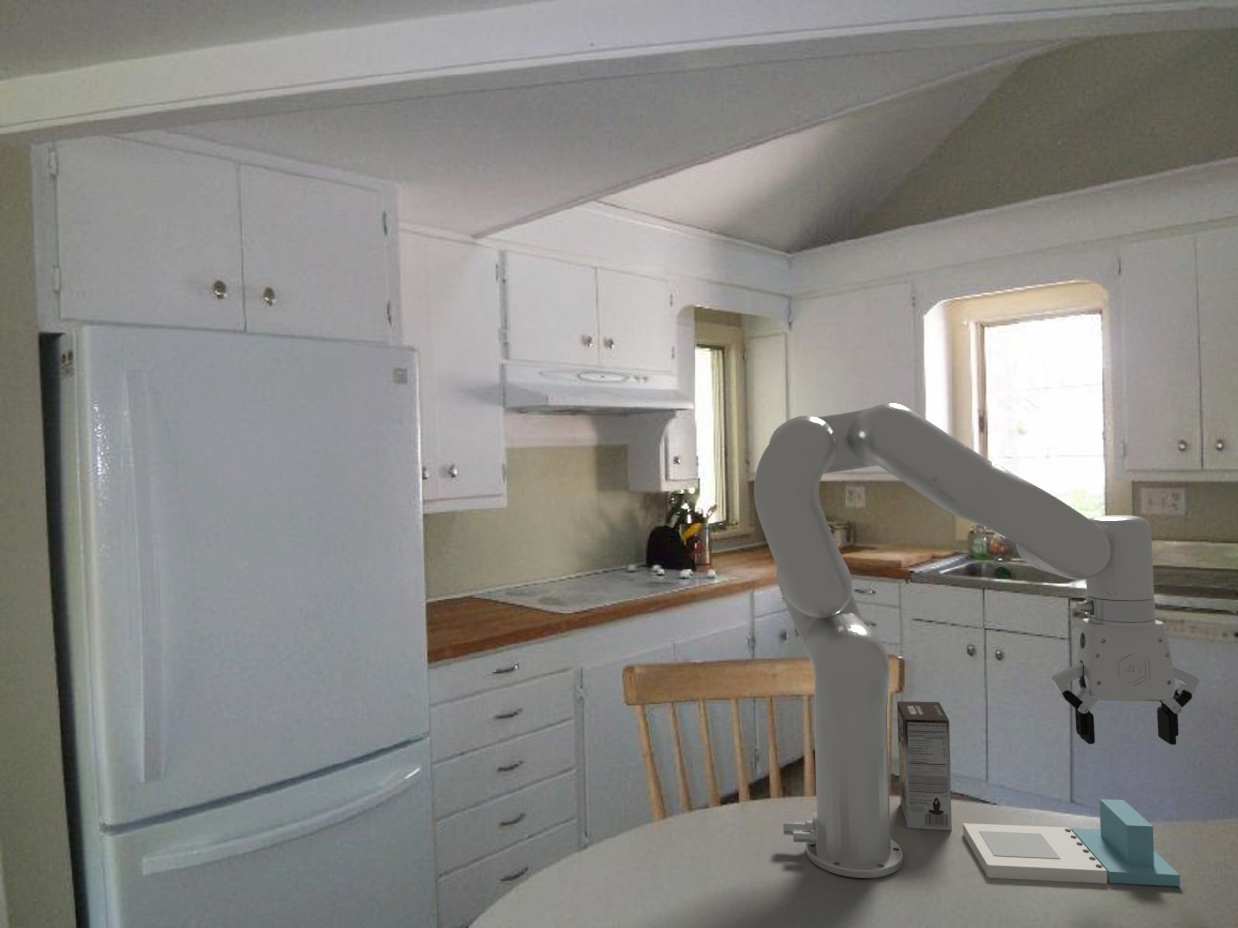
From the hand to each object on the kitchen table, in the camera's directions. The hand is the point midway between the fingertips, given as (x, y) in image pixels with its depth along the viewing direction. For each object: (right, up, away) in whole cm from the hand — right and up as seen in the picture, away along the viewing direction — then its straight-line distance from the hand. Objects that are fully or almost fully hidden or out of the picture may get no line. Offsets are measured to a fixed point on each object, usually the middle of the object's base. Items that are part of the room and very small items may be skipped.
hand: (1126, 740), depth 106 cm
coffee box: (-21, -17, +15) cm, 31 cm away
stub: (0, -16, 0) cm, 16 cm away
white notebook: (-12, -16, +2) cm, 20 cm away
